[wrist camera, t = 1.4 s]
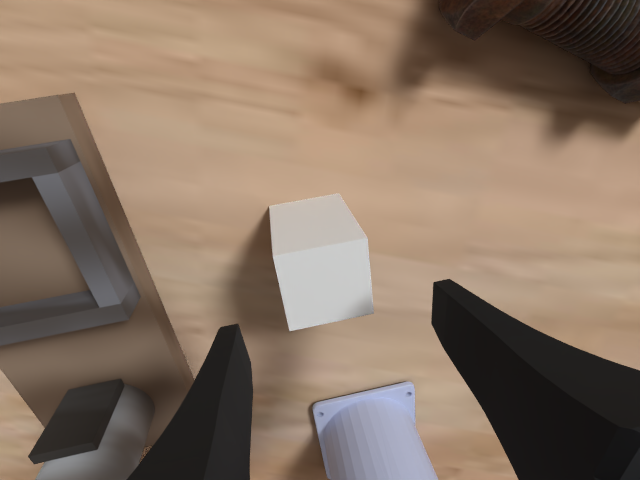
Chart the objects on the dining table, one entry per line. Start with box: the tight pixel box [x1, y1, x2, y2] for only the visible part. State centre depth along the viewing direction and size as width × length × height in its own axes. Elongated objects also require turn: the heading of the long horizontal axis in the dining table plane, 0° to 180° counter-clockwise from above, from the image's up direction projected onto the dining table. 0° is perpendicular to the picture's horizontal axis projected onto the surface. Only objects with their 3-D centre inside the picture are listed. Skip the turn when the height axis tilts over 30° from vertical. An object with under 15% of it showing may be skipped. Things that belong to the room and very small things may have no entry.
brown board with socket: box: [0, 93, 194, 480], centre depth 18 cm, size 22×9×6 cm, turn 8°
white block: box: [269, 193, 374, 331], centre depth 18 cm, size 4×4×6 cm
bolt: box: [439, 0, 640, 103], centre depth 16 cm, size 6×5×15 cm
